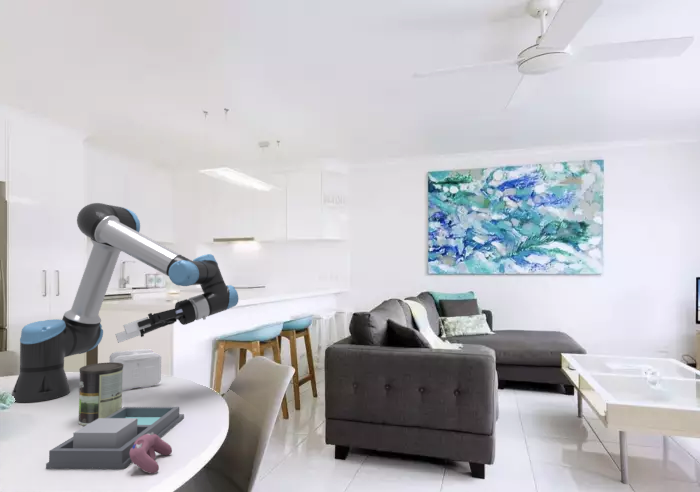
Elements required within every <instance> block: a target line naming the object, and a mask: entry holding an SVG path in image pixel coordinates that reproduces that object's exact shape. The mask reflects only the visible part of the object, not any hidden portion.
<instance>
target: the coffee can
mask: <svg viewBox="0 0 700 492" xmlns="http://www.w3.org/2000/svg"><path fill="white" fill-rule="evenodd" d="M122 373H123V364H122V363H115V362H110V361H109V362H99V363H91V364H88V365H84V366H81V367H80V368H79V396H78V397H79V400H78V421H77V422H78V424H79V425H80V426H83V427H84V426H86V425H88V424H90V423H91V422H93V421H95V420H97V419H98V418H106V417H108V416H109V415H111V414H113V413H114V412H116V411H118V410H119V409H121V408H123V407H122V406H123V405H122V404H123V401H122V400H123V391H122Z"/></svg>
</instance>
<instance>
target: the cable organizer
mask: <svg viewBox="0 0 700 492" xmlns="http://www.w3.org/2000/svg"><path fill="white" fill-rule="evenodd" d="M109 362H115V363H122V364H123V373H122V392H124V391H130V390H132V389H136V388H141V389H145V388H150V387H151V388H152V387H153V386H155V385H156V386H157V385H158V384H159V383H160V382H161V380H162V355H161V354H160V353H158V352H154V350H153V349H152V348H151V349H150V348H140V349H129V350H120V351H114V352H112V353H111V354H110V355H109Z"/></svg>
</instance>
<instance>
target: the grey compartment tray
mask: <svg viewBox="0 0 700 492" xmlns="http://www.w3.org/2000/svg"><path fill="white" fill-rule="evenodd" d="M184 418H185V414H184V413H182V414H180V406H123V407H122V408H121V409H119V410H118V411H116V412H114V413H113V414H111V415H109V416H108V417H106V418H98V419H97V420H95V421H93V422H91V423H90V424H88V425H86V426H83V427H81V428H79V429H78V430H76V431H75V432H73V433H72V434H73V435H72V437H70V438H68V439H67V440H65V441H63V442H62V443H60V444H58V445H56V446H55V447H53V448H51V449H50V450H48V451H49V455H48V462H46V463H45V469H49V470H50V469H54V470H55V469H56V470H59V469H61V470H64V469H65V470H68V469H72V470H75V469H78V470H80V469H81V470H83V469H84V470H85V469H86V470H87V469H88V470H89V469H91V470H92V469H93V470H122V469H123V470H125V469H127V468H128V467H129V466H130V465H131V464H132V463H133V462H132V460H131V458H130V449H131V448H132V447H133V445H134V443H135V441H136V440H137V439H138V438H139V437H141V436H143V435H145V434H151V433H152V432H153V433H154V434H156V435H158V436H159V437H160V438H161V439H162V437H164V436H165V435H166V434H167V433H168V432H170V431H171V430H172V429H173V428H174V427H176V425H178V424H179V423H180V422H181V421H182V420H183V419H184Z"/></svg>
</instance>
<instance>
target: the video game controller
mask: <svg viewBox="0 0 700 492" xmlns="http://www.w3.org/2000/svg"><path fill="white" fill-rule="evenodd" d="M172 452H173V448H172V446H171V445H170V444H169V443H167V442H166V441H165V440H163V439H162V437H161V438H160V437H159V436H158V435H156V434H154V433H153V432H152V433H151V434H145V435H143V436H141V437H139V438H138V439H137V440H136V441H135V443H134V445H133V447H132V448H131V449H130V458H131V460H132V463H133V464H134V465H135V466H137V467H139V468H140V469H141V470H142V471H144V472H146V473H148V474H157V473H158V472H159V470H160V466H159V464H158V462H157V461H156V460H155V459H156V458H157V455H156V453H157V454H159V455H161V456H171V454H172Z"/></svg>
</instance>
